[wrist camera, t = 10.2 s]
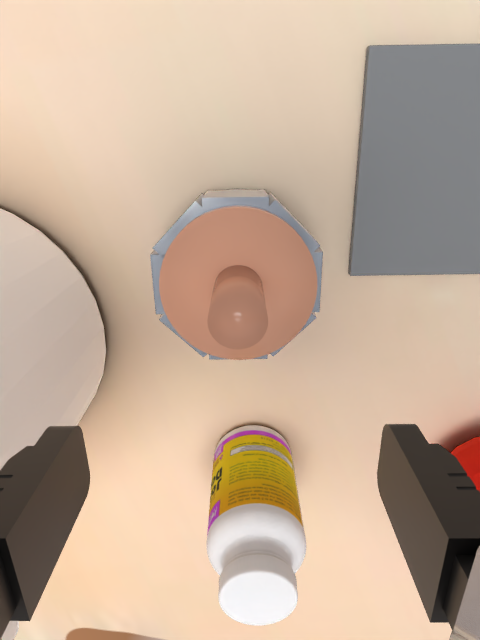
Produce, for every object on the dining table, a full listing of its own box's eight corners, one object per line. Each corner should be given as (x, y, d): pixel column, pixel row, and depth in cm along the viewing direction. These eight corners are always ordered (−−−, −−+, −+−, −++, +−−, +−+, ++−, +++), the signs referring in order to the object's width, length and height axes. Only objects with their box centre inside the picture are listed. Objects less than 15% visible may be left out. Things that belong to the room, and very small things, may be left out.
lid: (316, 202, 24) (341, 219, 18) (311, 349, 27) (330, 403, 21) (155, 207, 24) (128, 226, 18) (169, 352, 27) (150, 407, 21)
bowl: (310, 187, 29) (325, 195, 24) (304, 325, 32) (316, 358, 27) (161, 189, 29) (145, 198, 24) (172, 326, 32) (160, 360, 27)
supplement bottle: (212, 421, 36) (199, 558, 24) (292, 421, 36) (318, 557, 24) (215, 484, 38) (203, 637, 26) (289, 484, 38) (312, 636, 26)
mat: (600, 43, 26) (608, 41, 25) (542, 270, 31) (548, 272, 30) (366, 47, 26) (369, 45, 25) (348, 273, 31) (350, 275, 30)
